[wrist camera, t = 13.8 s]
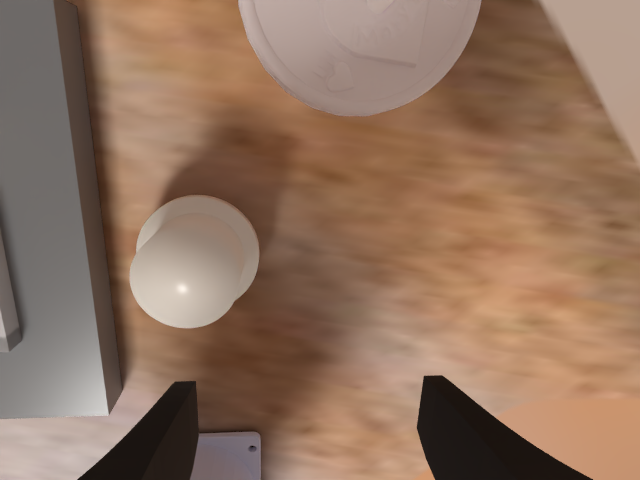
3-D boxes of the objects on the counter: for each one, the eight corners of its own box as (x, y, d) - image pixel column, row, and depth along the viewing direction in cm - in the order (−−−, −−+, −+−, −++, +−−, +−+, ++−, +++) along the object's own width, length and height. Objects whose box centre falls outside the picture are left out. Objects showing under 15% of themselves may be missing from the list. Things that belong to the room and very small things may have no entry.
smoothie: (310, 143, 20) (369, 193, 7) (226, 29, 19) (93, -188, 5) (414, 62, 20) (691, -50, 6) (338, -64, 18) (505, -584, 5)
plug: (260, 293, 23) (255, 341, 18) (153, 293, 22) (119, 343, 17) (260, 191, 21) (255, 214, 16) (144, 188, 20) (103, 212, 16)
